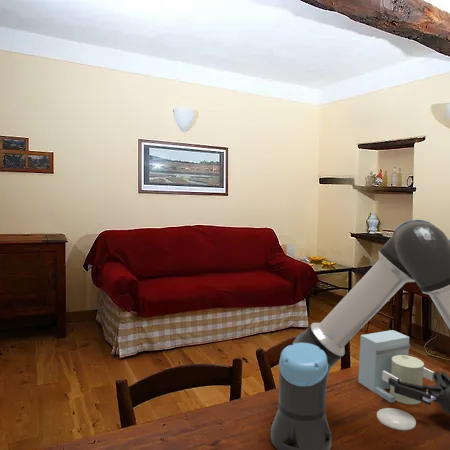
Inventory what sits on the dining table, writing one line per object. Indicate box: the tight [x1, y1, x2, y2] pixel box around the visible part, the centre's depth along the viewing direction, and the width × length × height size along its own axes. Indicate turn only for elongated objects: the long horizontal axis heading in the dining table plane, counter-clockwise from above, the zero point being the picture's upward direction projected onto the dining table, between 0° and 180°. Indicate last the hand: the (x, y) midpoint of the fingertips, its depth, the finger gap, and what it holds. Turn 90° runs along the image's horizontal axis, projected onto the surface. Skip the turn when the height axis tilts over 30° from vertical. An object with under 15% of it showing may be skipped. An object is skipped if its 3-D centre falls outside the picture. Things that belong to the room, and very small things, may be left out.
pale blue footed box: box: [357, 329, 411, 403], centre depth 132 cm, size 14×14×16 cm
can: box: [388, 355, 425, 406], centre depth 126 cm, size 9×9×12 cm
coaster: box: [376, 407, 417, 432], centre depth 114 cm, size 10×10×1 cm
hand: (399, 371), depth 129 cm, fingers open, 13 cm apart
